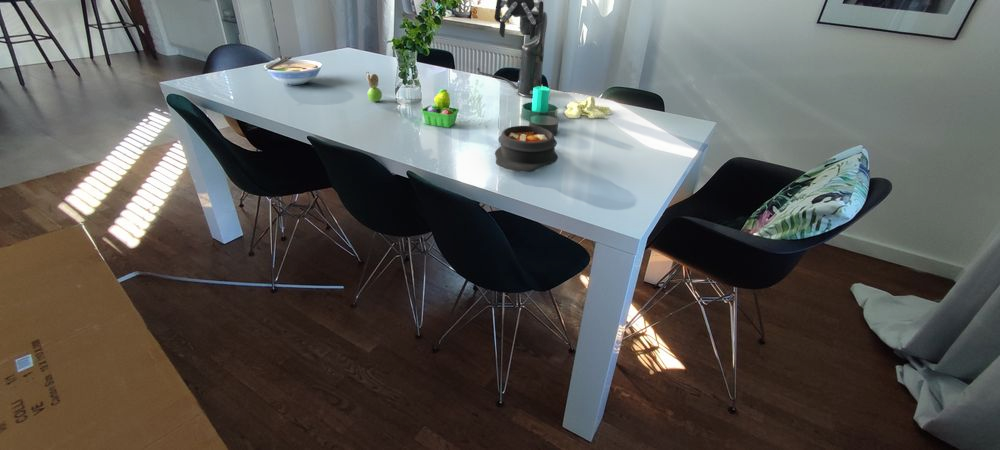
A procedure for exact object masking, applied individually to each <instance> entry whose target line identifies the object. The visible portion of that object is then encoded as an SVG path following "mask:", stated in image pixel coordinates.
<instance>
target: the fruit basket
mask: <svg viewBox="0 0 1000 450" xmlns="http://www.w3.org/2000/svg"><path fill="white" fill-rule="evenodd" d="M433 100H434V104H430V105H428V106H425V107H423V108H422V109H420V111H421V113H422V116H423V119H424V123H425V125H429V126H436V127H442V128H450V127H452V126H454V125H455V124H456V120H457V117H458V113H459V108H455V107H450V104H451V100H450V93H449V92H448V91H447V89H443V88H442V89H440V90H439V92H438V93H437V95H436V96H435V97H434V99H433Z"/></svg>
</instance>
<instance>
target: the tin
mask: <svg viewBox="0 0 1000 450" xmlns="http://www.w3.org/2000/svg"><path fill="white" fill-rule="evenodd" d="M558 113H559V107H558V106H557V105H555V104H552V103H549V105H548V112H535V111H532V101H531V102H526V103H524V104H522V106H521V118H522V119H523V120H525V121H527V122H529V118H530V117H532V116H538V115H544V116H551V117H554V118H557V119H558Z"/></svg>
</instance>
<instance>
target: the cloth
mask: <svg viewBox="0 0 1000 450" xmlns="http://www.w3.org/2000/svg"><path fill="white" fill-rule="evenodd" d="M566 108H567V109H566V110H564V115H565V116H566V117H567V118H568V119H579V118H581V116H585V117H587V118H588V119H608V117H607V115H612V109H611V108H610V107H609V106H608V105H596V100H595V97H594V96H588V97H587V98H586V99H584V100H575V101H570V102H569V103H568V104H567V105H566Z"/></svg>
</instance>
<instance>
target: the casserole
mask: <svg viewBox="0 0 1000 450" xmlns="http://www.w3.org/2000/svg"><path fill="white" fill-rule="evenodd" d="M497 141H498V143H499V144H500V147H498V148H496V150H495V152H494V155H495V164H496V165H497V166H498V167H500V168H503V169H505V170H510V171H515V172H523V173H532V172H535V171H537V170H540V169H541V168H544V167H547V166H550V165H551V166H552V164H555V163H556V162H557V161H558V159H559V155H558V153H557V152H556V146H557V144H558V143H557V140H556V139H555V135H553V133H552V132H550V131H548V130H546V129H543V128H539V127H533V126H529V125H515V126H510V127H506V128H504V129H503V130H502V131H501V134H500V135H499V137H498V139H497Z"/></svg>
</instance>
